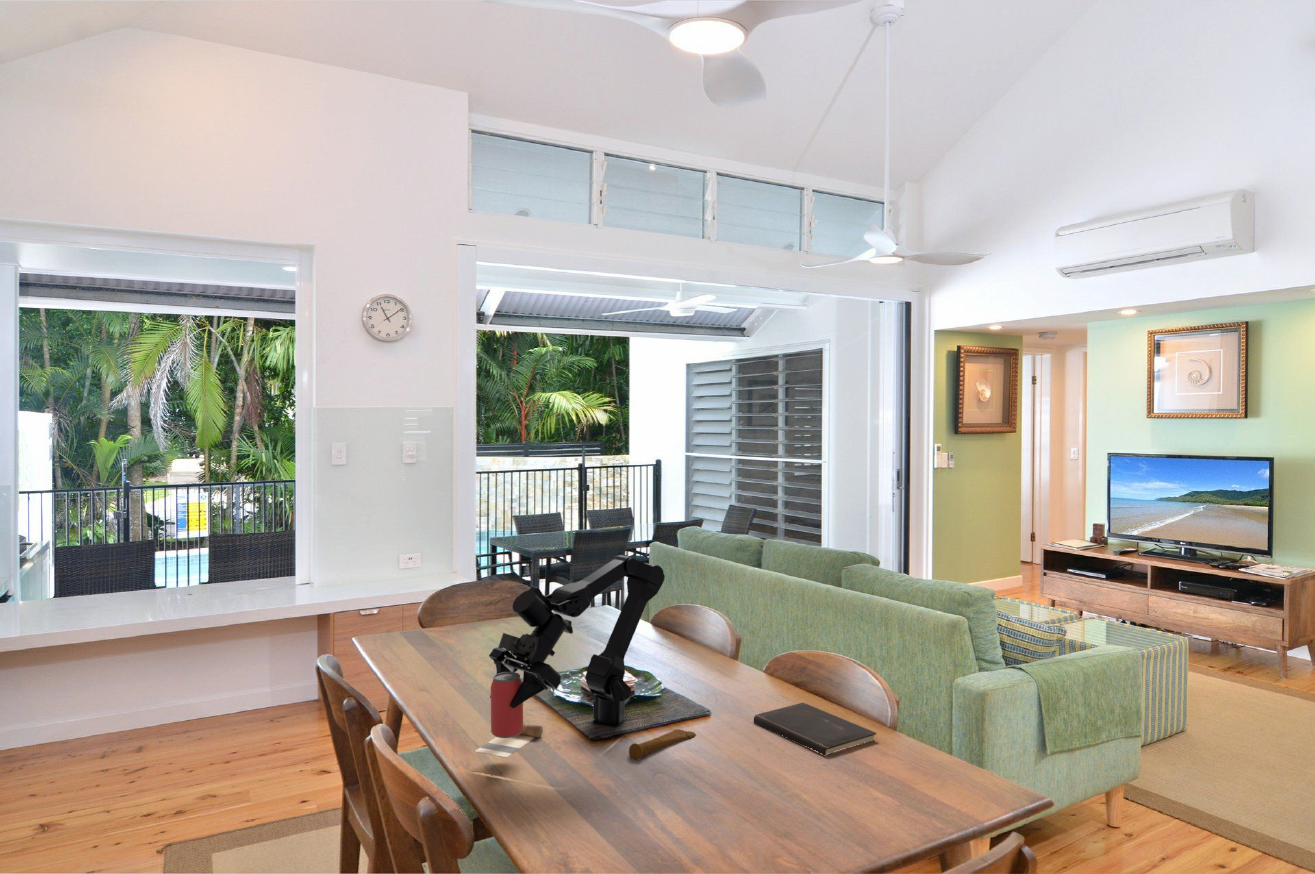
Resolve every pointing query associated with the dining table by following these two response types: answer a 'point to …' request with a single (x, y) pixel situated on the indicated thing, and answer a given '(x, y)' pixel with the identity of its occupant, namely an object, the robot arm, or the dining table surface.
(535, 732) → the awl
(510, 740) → the plywood offcut
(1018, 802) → the dining table surface
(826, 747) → the hardcover book
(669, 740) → the primitive tool
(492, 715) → the beer can
